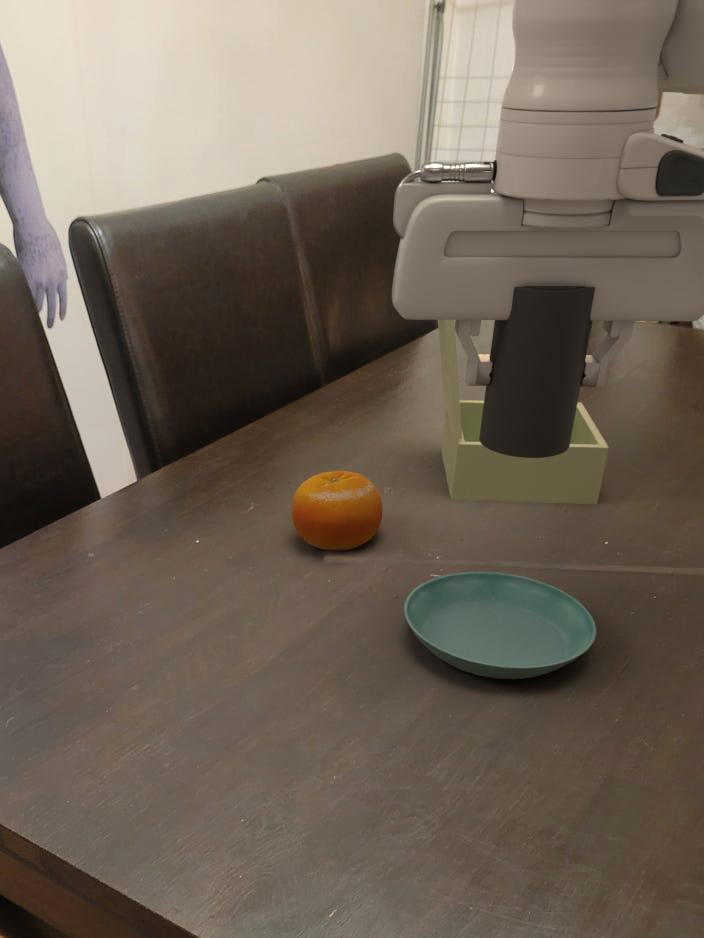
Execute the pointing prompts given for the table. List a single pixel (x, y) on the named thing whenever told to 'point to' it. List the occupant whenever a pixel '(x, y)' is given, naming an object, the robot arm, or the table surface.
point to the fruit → (337, 510)
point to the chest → (523, 465)
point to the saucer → (499, 624)
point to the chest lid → (450, 374)
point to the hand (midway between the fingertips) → (533, 384)
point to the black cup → (537, 371)
